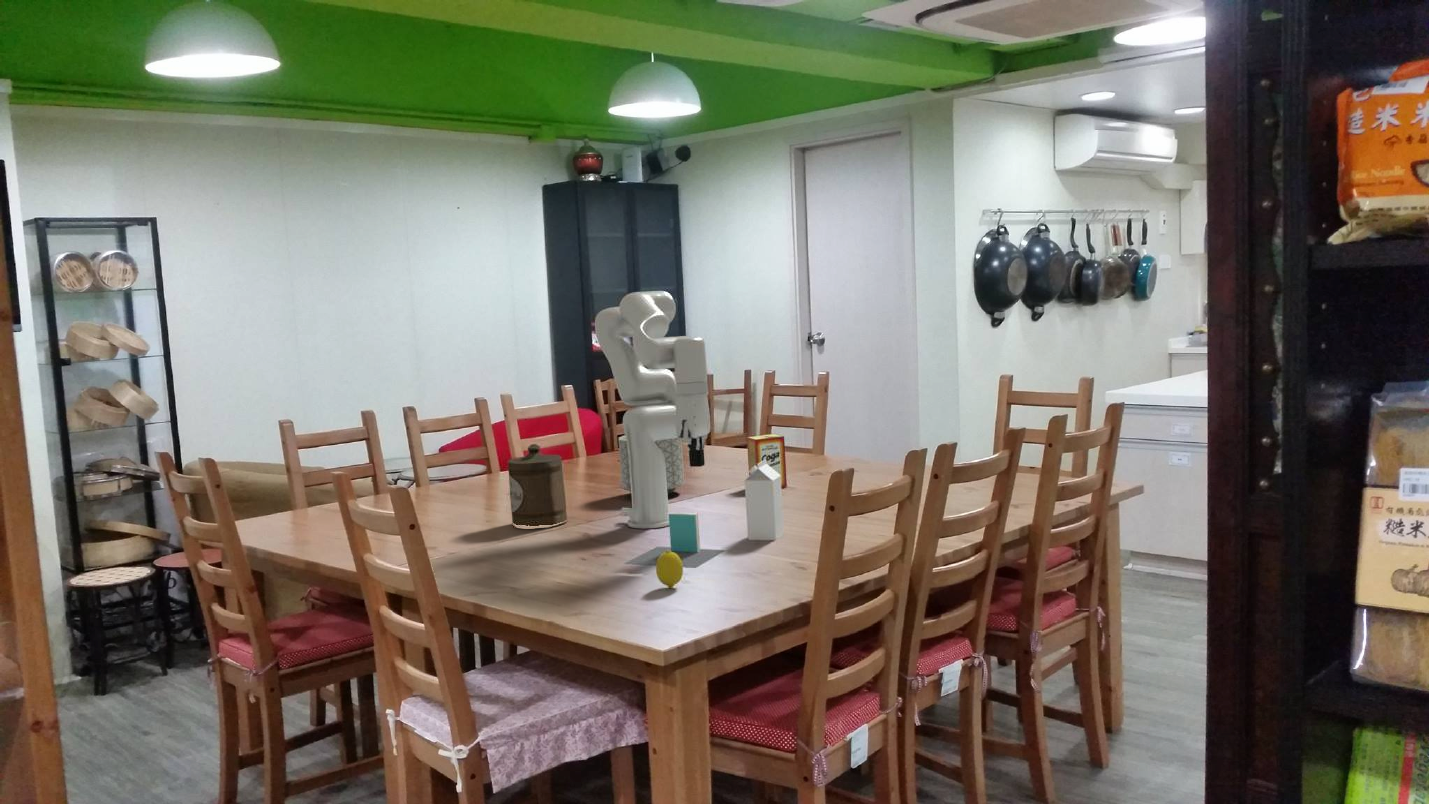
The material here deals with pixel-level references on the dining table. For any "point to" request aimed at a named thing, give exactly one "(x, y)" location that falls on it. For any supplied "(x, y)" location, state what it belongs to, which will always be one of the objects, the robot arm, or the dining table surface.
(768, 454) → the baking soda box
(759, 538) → the milk carton
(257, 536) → the dining table surface
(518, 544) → the dining table surface
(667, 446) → the planter
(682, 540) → the tile
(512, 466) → the wooden container
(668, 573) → the lemon
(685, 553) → the mat
